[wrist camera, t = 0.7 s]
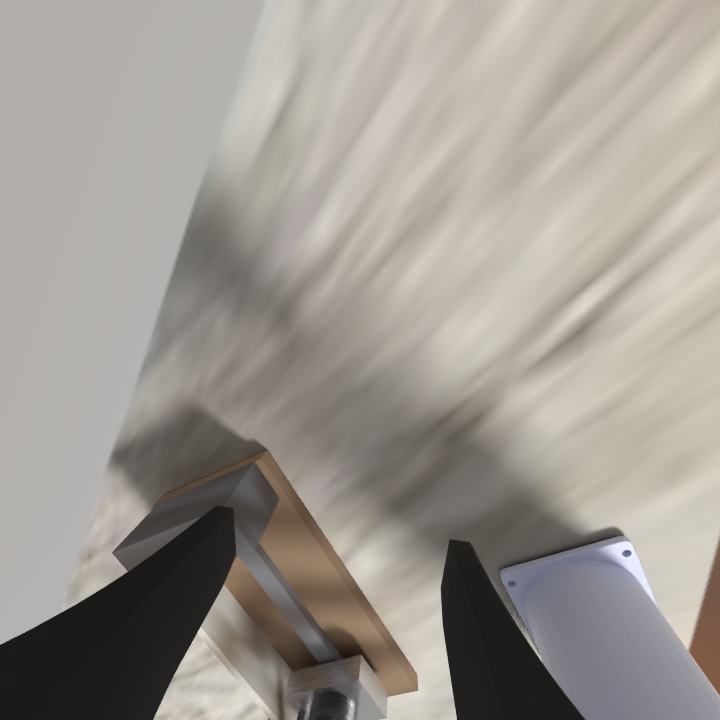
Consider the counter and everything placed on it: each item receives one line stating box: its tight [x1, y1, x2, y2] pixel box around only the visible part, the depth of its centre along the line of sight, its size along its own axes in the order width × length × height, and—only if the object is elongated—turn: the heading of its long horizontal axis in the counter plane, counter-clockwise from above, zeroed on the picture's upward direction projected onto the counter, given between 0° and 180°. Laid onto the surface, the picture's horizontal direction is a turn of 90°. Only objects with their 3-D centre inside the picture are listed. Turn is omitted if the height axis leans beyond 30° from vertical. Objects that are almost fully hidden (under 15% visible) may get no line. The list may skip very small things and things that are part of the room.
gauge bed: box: [112, 450, 418, 720], centre depth 23 cm, size 22×9×5 cm, turn 28°
